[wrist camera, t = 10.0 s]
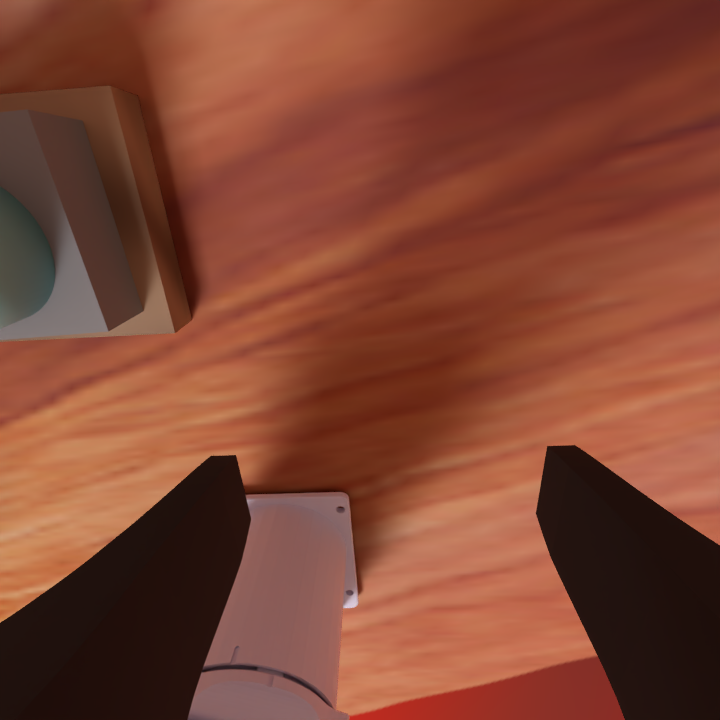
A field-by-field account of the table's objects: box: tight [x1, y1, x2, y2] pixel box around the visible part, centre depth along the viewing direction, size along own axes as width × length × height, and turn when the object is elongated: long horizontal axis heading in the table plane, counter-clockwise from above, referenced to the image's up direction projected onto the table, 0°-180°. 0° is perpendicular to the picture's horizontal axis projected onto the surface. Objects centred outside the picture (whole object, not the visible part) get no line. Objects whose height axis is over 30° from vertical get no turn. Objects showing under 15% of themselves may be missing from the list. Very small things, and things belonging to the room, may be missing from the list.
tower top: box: [0, 109, 143, 340], centre depth 15 cm, size 7×7×2 cm
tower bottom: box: [0, 86, 192, 342], centre depth 17 cm, size 9×9×2 cm
